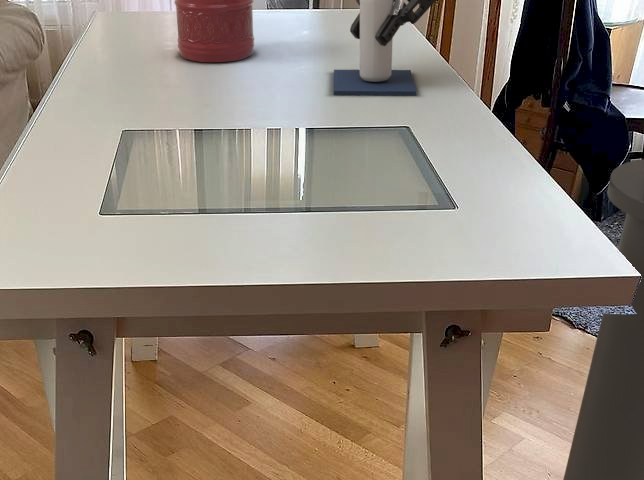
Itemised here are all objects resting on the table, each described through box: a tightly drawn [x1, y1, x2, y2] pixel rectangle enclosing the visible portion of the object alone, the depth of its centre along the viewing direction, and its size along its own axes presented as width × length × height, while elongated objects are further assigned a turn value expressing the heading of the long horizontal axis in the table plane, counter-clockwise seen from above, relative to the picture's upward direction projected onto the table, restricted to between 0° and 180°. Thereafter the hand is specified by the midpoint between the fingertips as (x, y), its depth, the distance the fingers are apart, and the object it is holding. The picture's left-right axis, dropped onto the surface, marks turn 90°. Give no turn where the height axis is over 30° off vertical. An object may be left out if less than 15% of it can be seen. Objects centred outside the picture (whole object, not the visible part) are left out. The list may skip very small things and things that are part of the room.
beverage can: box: [359, 0, 394, 82], centre depth 123 cm, size 5×5×12 cm
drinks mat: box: [333, 69, 418, 96], centre depth 127 cm, size 12×12×1 cm
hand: (367, 38), depth 122 cm, fingers closed on beverage can, 5 cm apart
